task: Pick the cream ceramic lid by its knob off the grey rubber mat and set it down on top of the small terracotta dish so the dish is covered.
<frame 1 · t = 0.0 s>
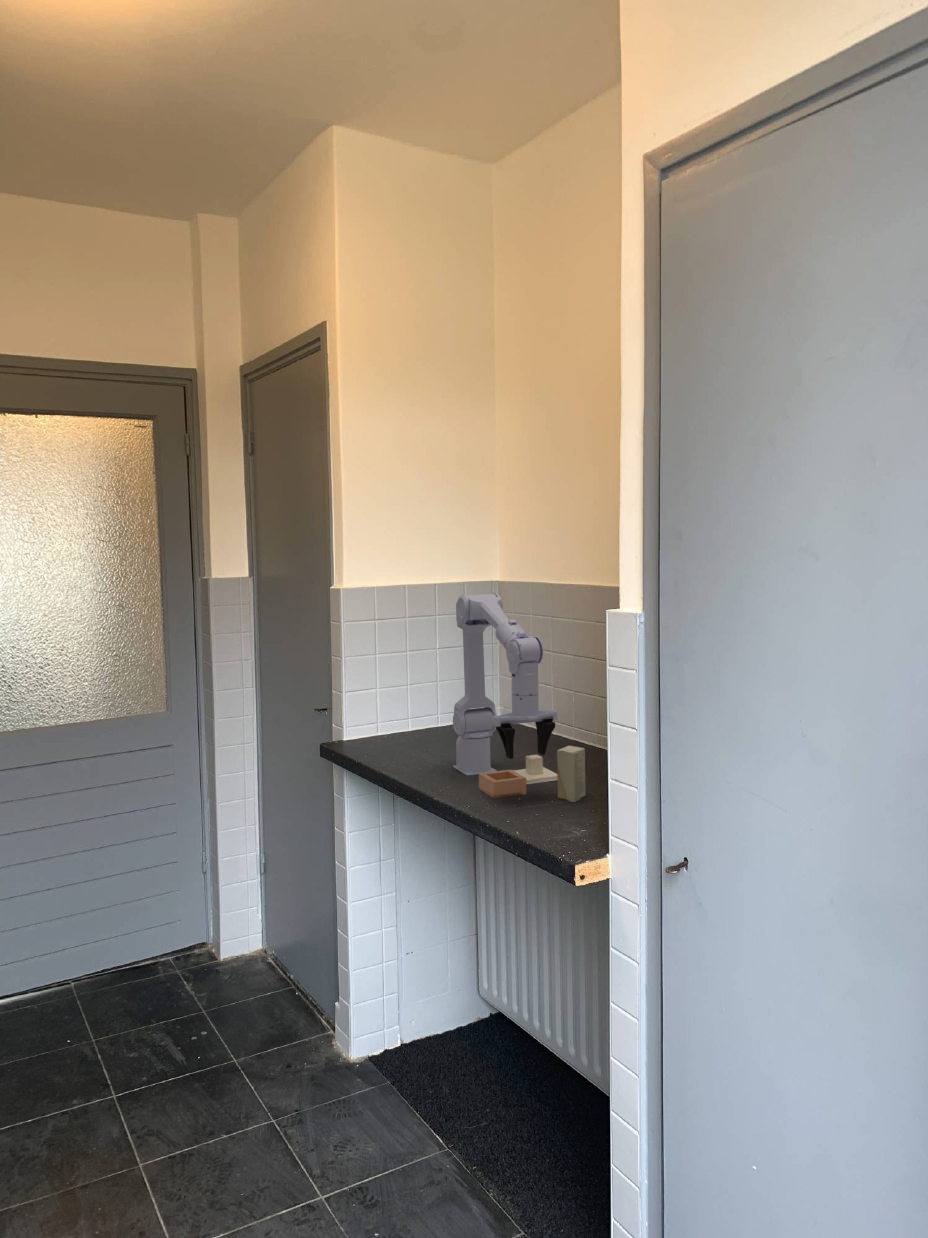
hand: (525, 756, 194), 10 cm above the countertop, fingers open, 7 cm apart
mat: (534, 778, 214), on the countertop
lid: (534, 776, 213), resting on mat
dish: (502, 793, 202), on the countertop
box: (571, 799, 197), on the countertop
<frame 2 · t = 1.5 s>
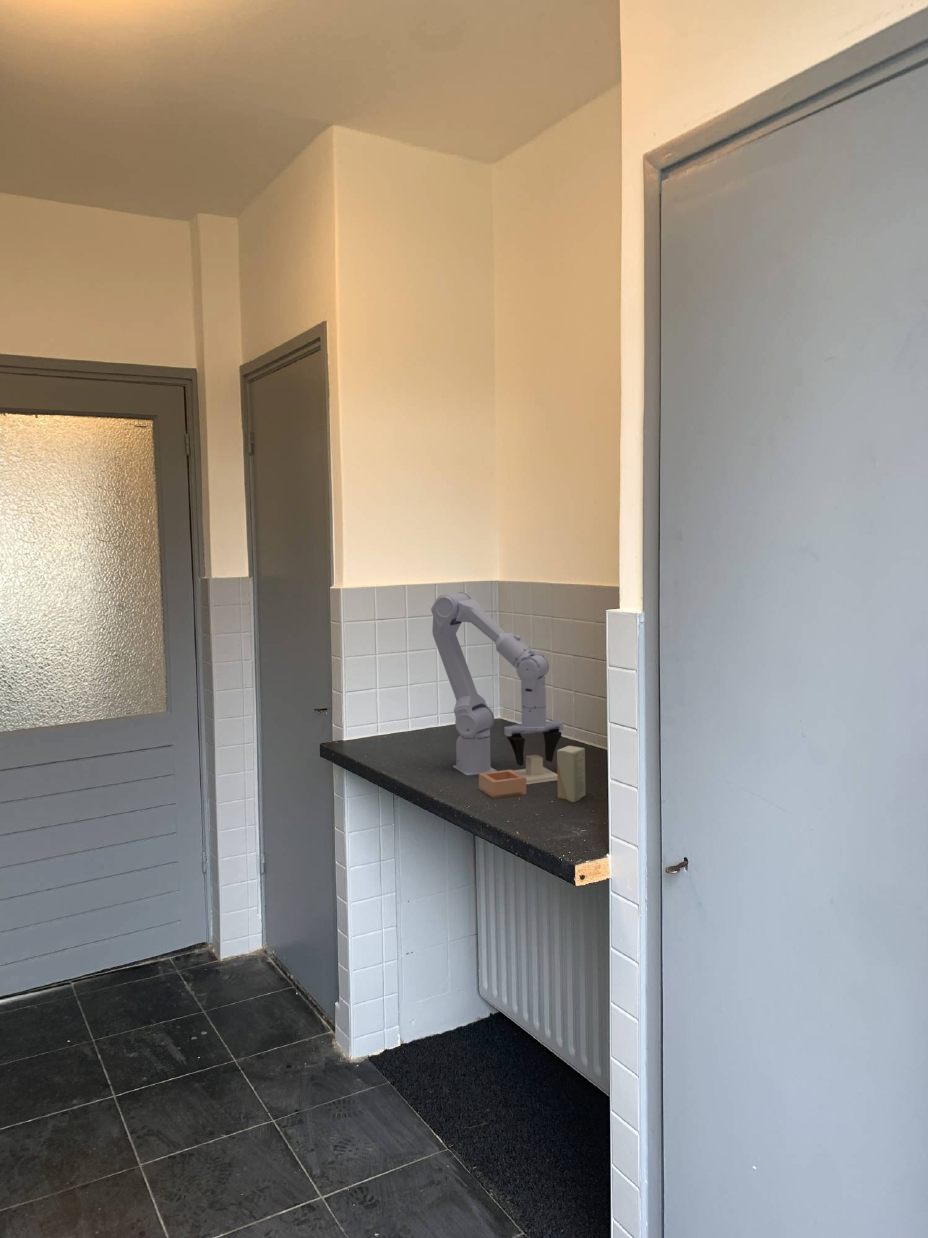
hand: (534, 762, 213), 4 cm above the countertop, fingers open, 7 cm apart
nothing on the countertop moved.
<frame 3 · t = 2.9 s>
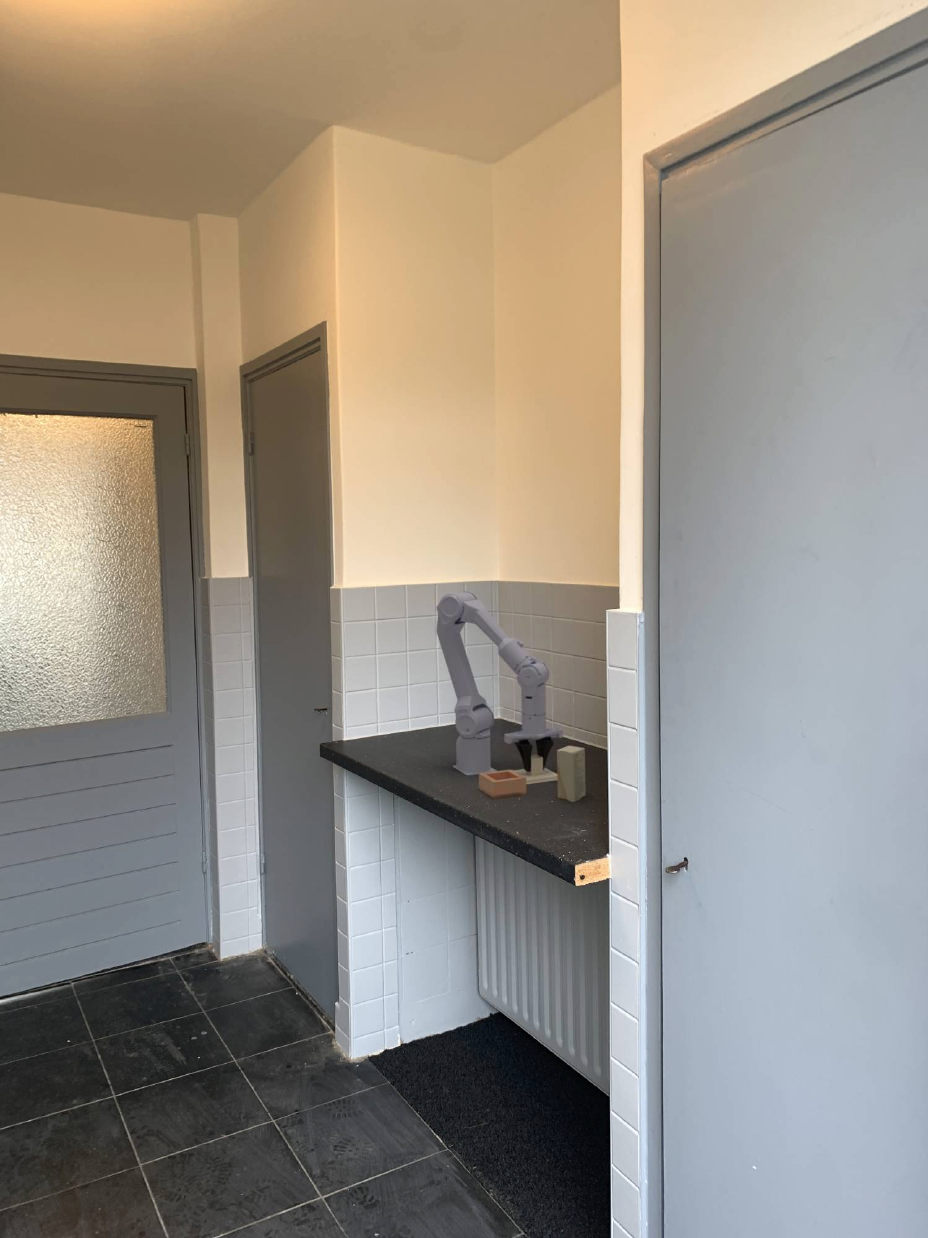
hand: (534, 770, 213), 2 cm above the countertop, fingers closed on lid, 3 cm apart
lid: (534, 776, 213), resting on mat, touching gripper
everything else where it was.
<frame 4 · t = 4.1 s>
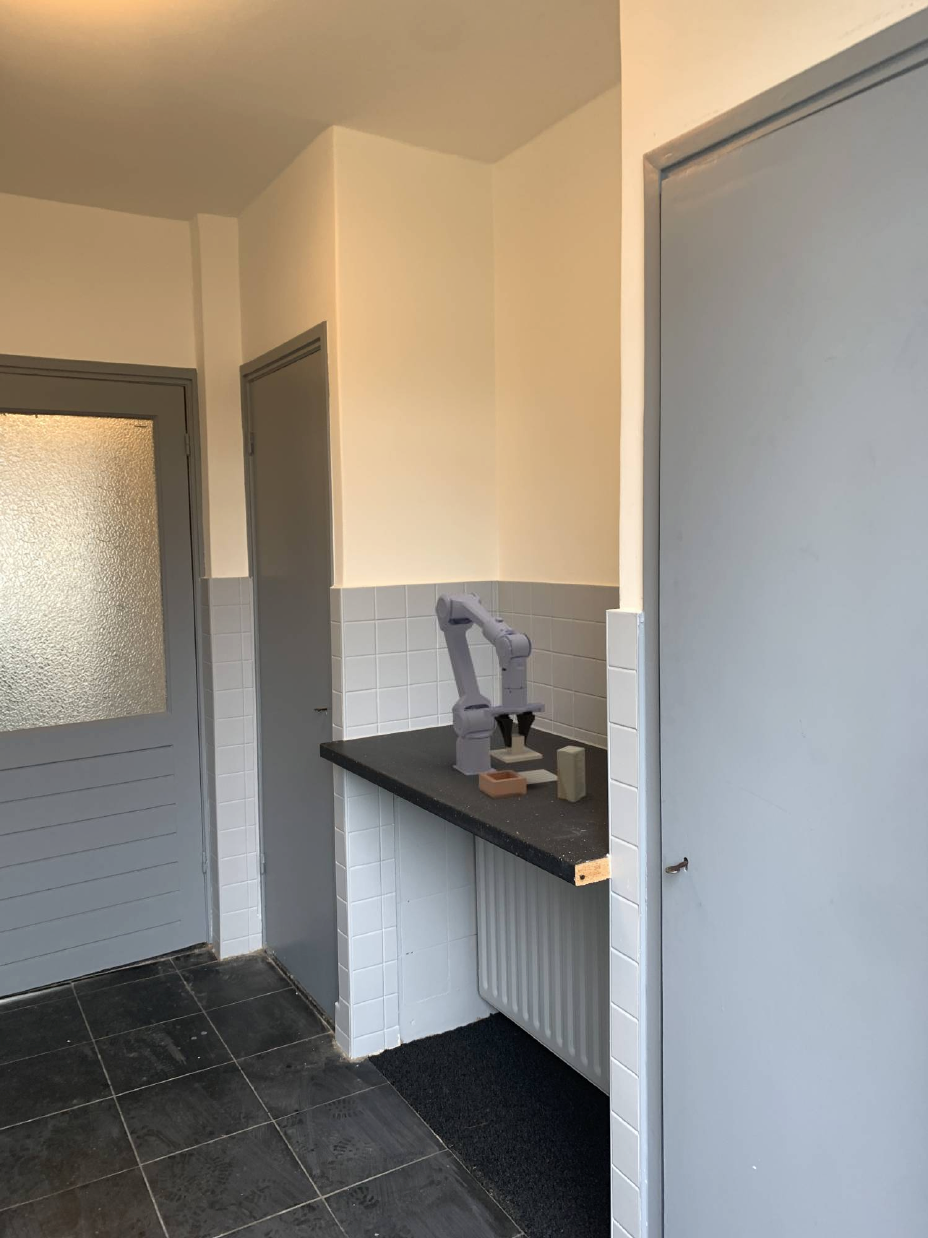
hand: (515, 745, 205), 10 cm above the countertop, fingers closed on lid, 3 cm apart
lid: (515, 756, 205), point 7 cm above the countertop, touching gripper
everything else where it was.
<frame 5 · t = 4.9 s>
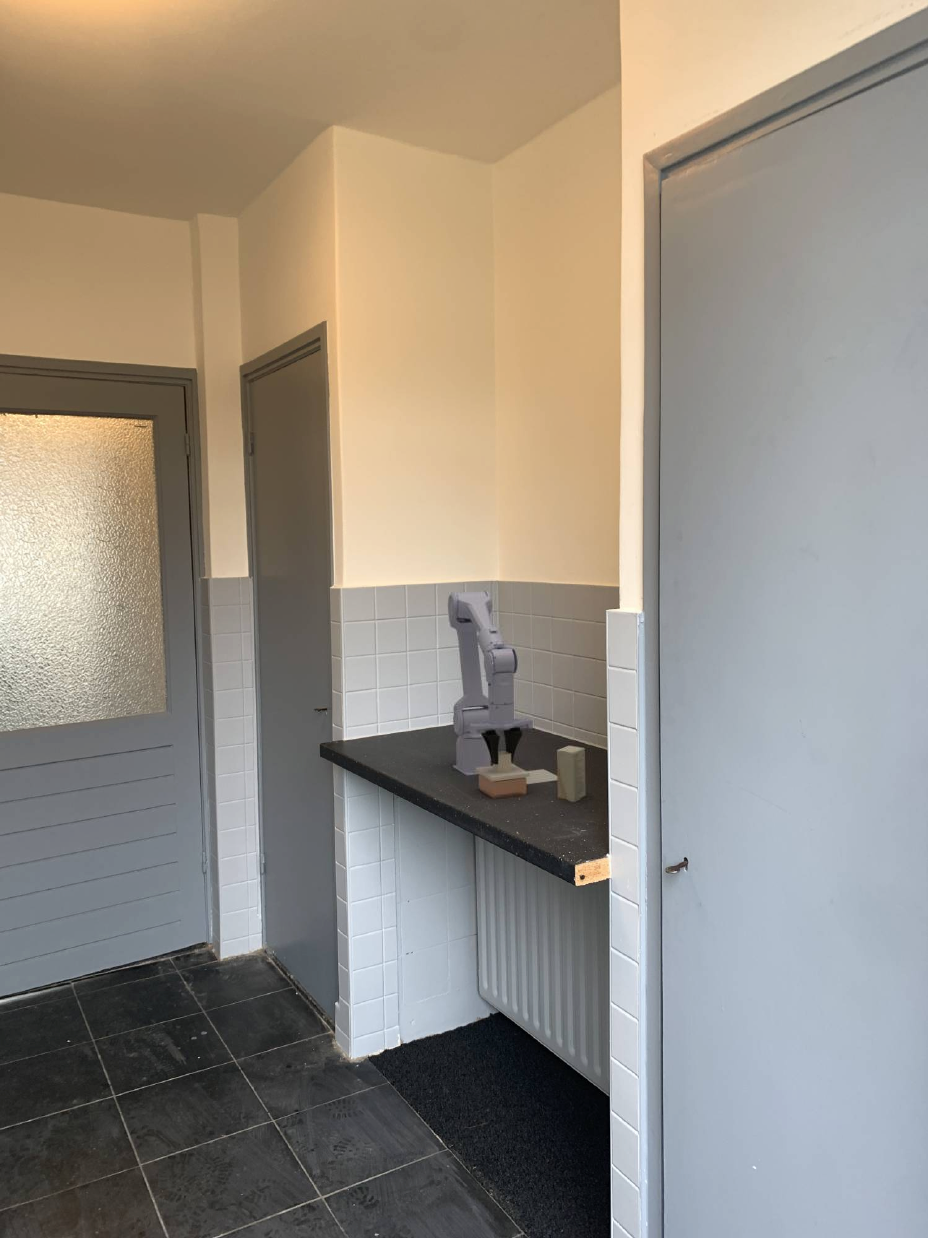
hand: (502, 762, 201), 7 cm above the countertop, fingers closed on lid, 3 cm apart
lid: (502, 774, 201), point 4 cm above the countertop, touching gripper
everything else where it was.
when the fingers open (7 cm above the countertop, at t = 5.6 s): lid stays where it is, resting on dish.
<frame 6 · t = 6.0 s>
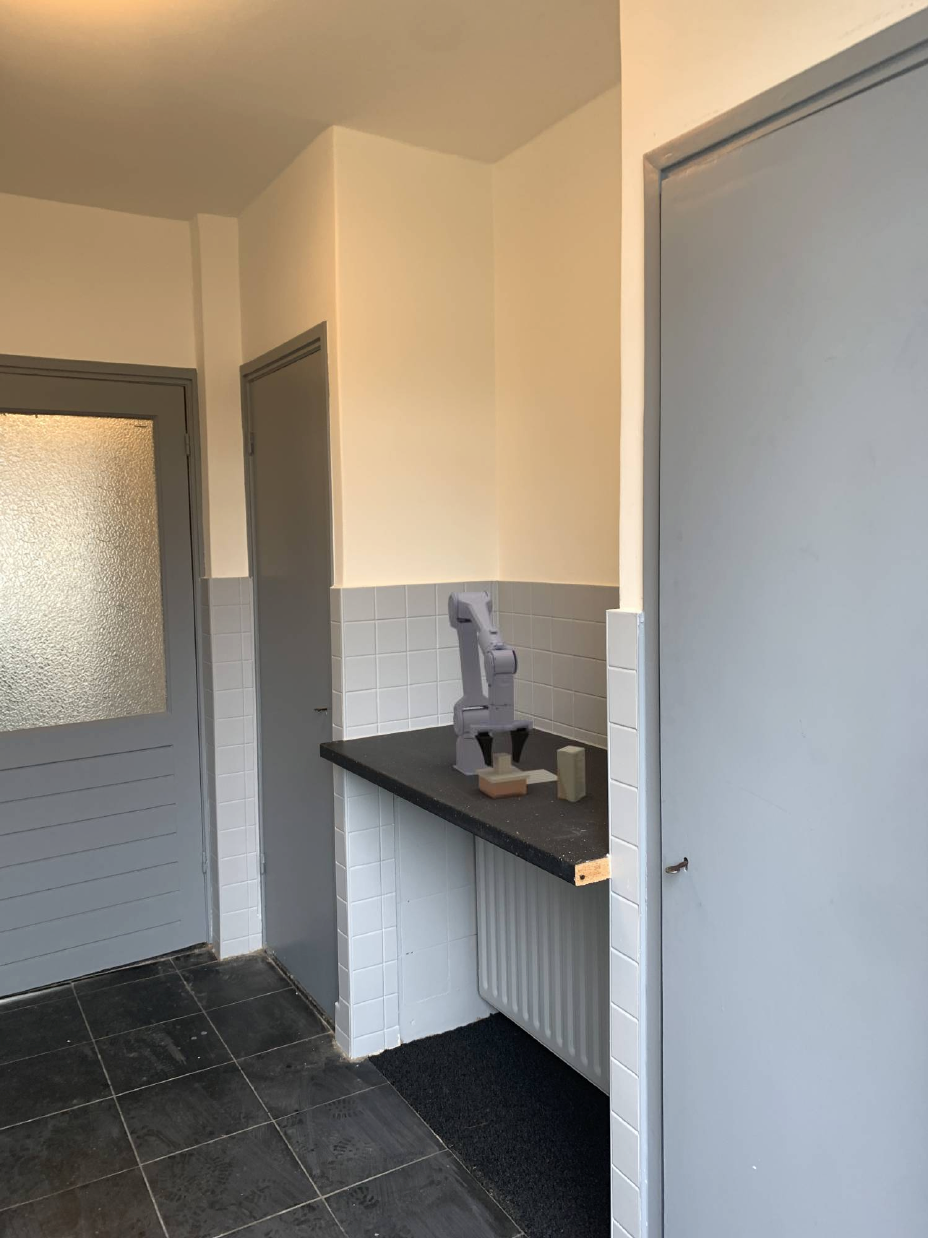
hand: (502, 763, 201), 7 cm above the countertop, fingers open, 6 cm apart
lid: (502, 775, 201), point 4 cm above the countertop, touching dish
everything else where it was.
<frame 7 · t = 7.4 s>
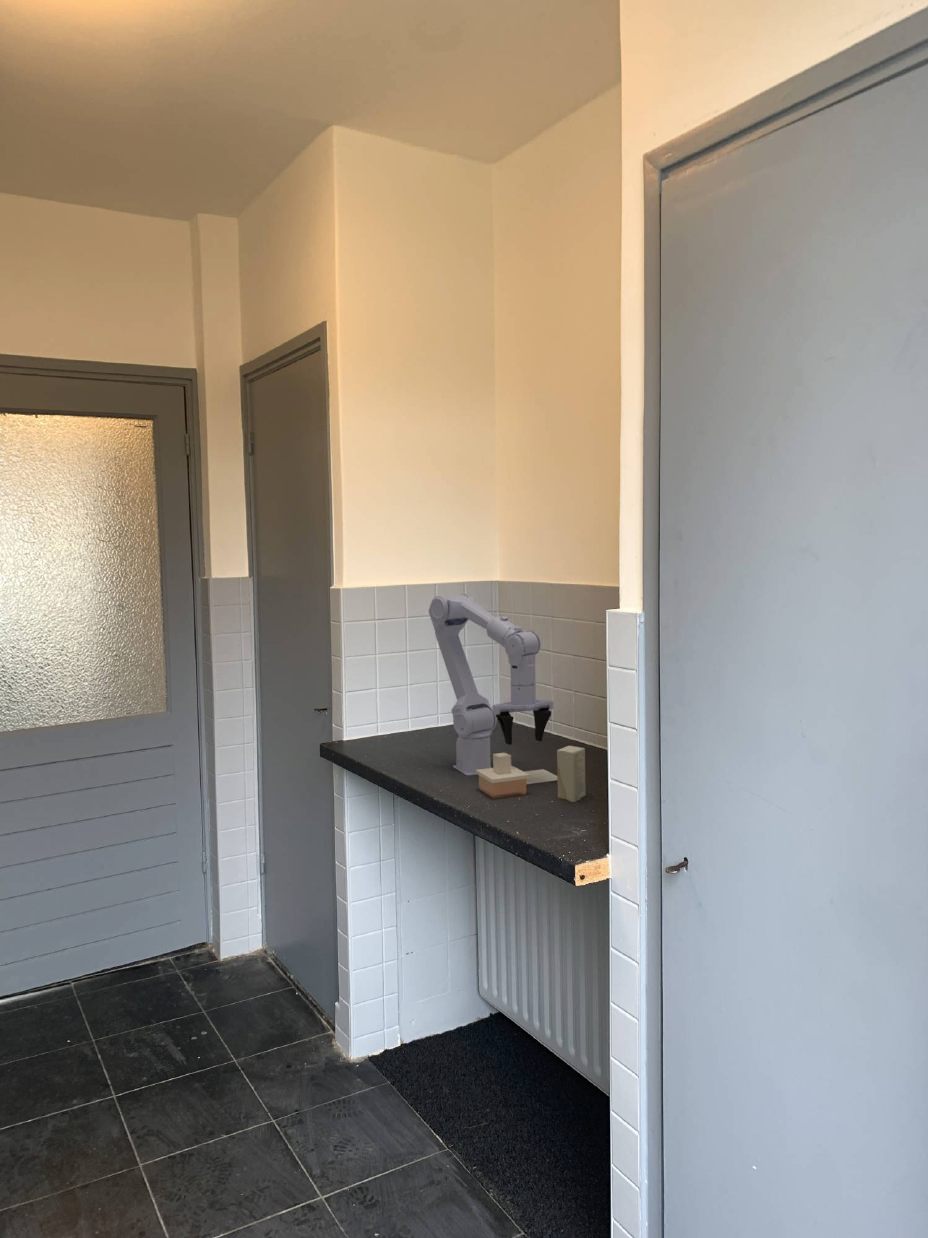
hand: (523, 742, 208), 10 cm above the countertop, fingers open, 7 cm apart
nothing on the countertop moved.
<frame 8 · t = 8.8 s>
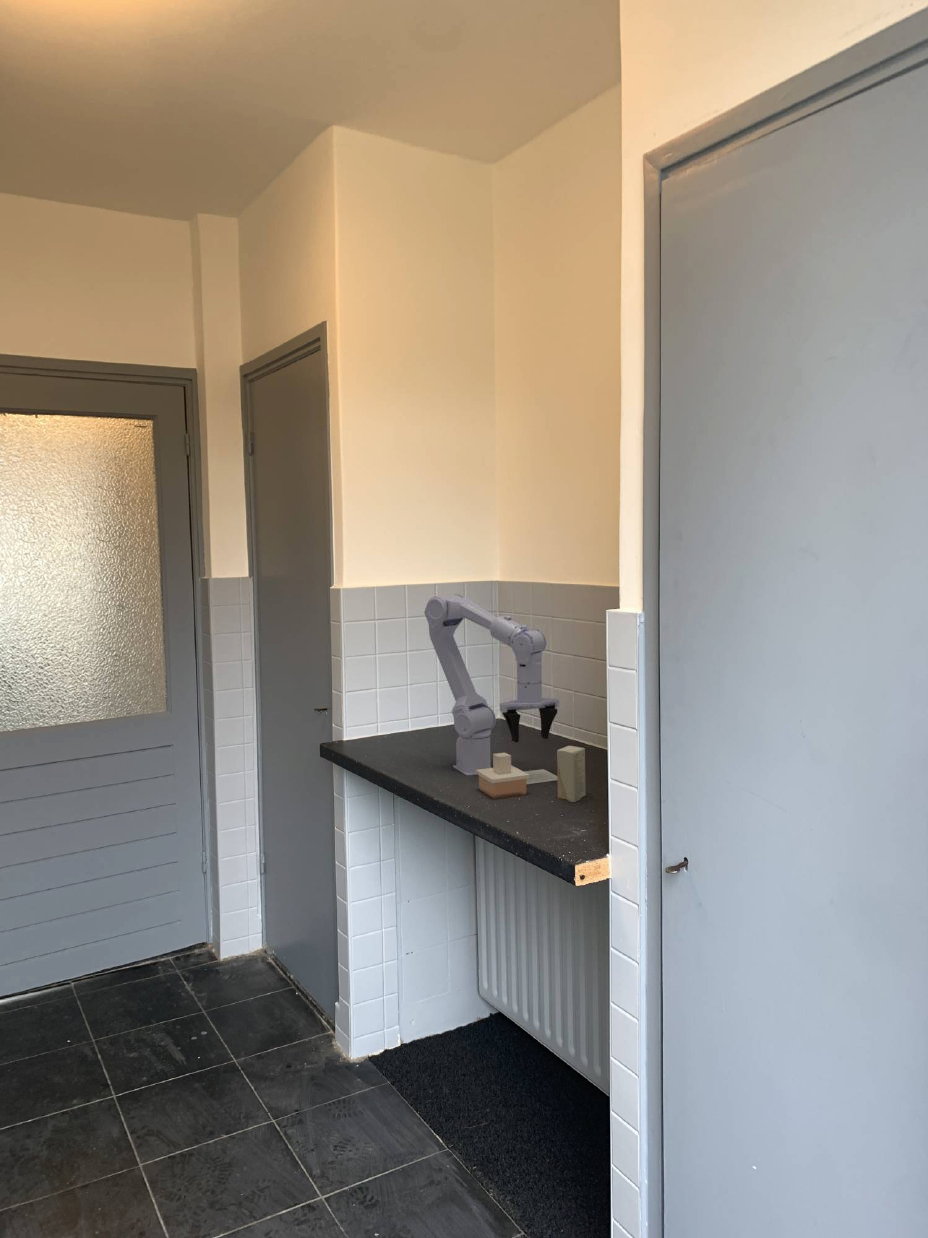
hand: (530, 739, 210), 10 cm above the countertop, fingers open, 7 cm apart
nothing on the countertop moved.
at the end: lid 0.0 cm off-centre on the dish, point 4.0 cm above the dish's base; lid tilted 0°; the gripper is holding nothing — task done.
